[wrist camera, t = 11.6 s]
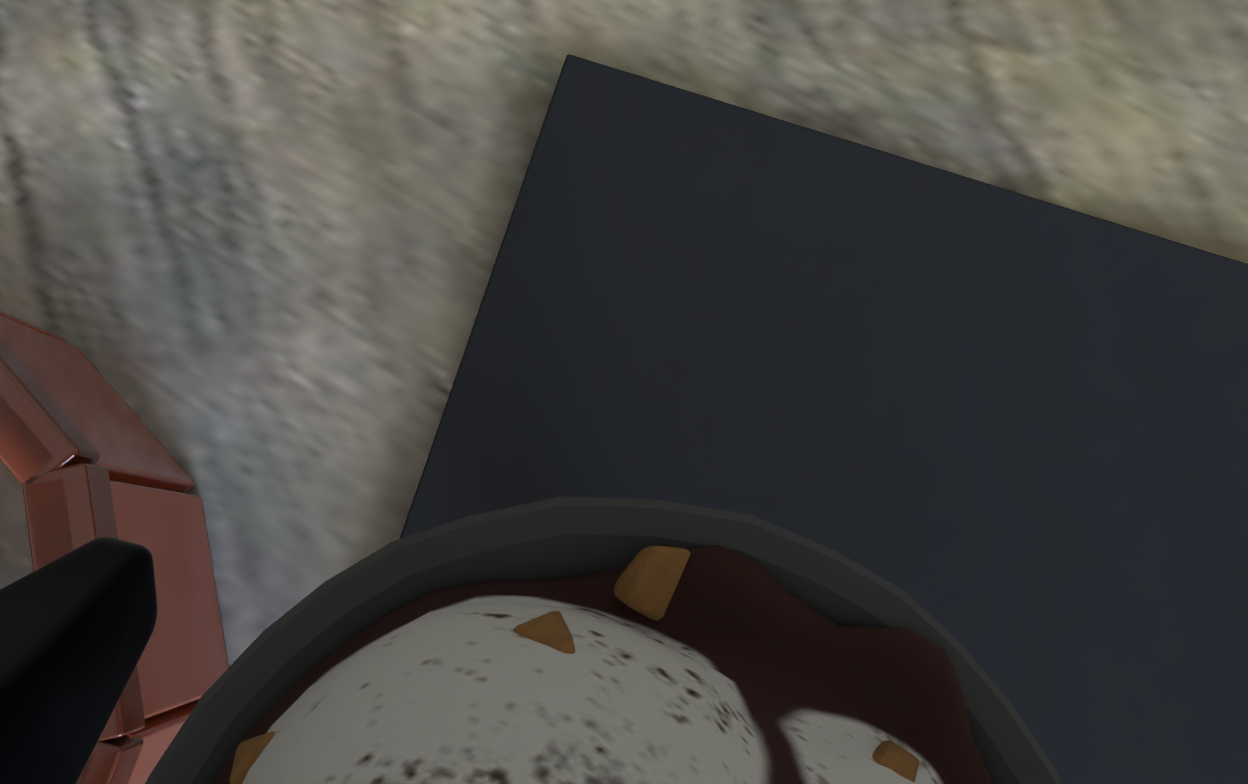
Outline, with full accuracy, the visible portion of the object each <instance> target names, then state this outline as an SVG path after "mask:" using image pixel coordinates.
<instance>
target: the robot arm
mask: <svg viewBox="0 0 1248 784" xmlns="http://www.w3.org/2000/svg"><path fill="white" fill-rule="evenodd" d="M157 613H158V605H157V595H156V585H155V575H154V565H153V558H152V554H151V552H150V551H149V550H148V548H147V547H145V546H142V545H139V544H135V543H131V542H127V541H123V540H119V539H115V538H110V537H101V538H98V539H94V540H92V541H90V542H88V543H86V544H84V545H83V546H81V547H79V548H77V549H75V550H73V551H71V552H70V553H68V554H66V555H64V556H62V557H60V558H58V559H57V560H55V561H53V562H51V563H49V564H47V565H45V566H44V567H42V568H40V569H38V570H36V571H34V572H32V573H31V574H29V575H27V576H25V577H23V578H21V579H19V580H18V581H16V582H14V583H12V584H10V585H8V586H6V587H5V588H3V589H1V590H0V784H76V783H77V781H78V779H79V777H80V775H81V773H82V771H83V770H84V768H85V766H86V764H87V762H88V760H89V758H90V756H91V754H92V752H93V750H94V748H95V746H96V744H97V742H98V740H99V738H100V736H101V734H102V732H103V730H104V728H105V726H106V724H107V722H108V720H109V718H110V716H111V714H112V712H113V710H114V708H115V706H116V704H117V702H118V700H119V699H120V697H121V695H122V693H123V691H124V689H125V687H126V685H127V683H128V681H129V679H130V677H131V675H132V673H133V671H134V669H135V667H136V665H137V663H138V661H139V659H140V657H141V655H142V653H143V651H144V649H145V647H146V645H147V643H148V641H149V639H150V637H151V635H152V633H153V630H154V627H155V624H156V620H157Z"/></svg>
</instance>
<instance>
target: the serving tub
mask: <svg viewBox="0 0 1248 784" xmlns="http://www.w3.org/2000/svg"><path fill="white" fill-rule="evenodd" d="M0 460H1V461H2V462H3V463H4V465H5V466H6V467H7V468H8V469H9V471H10V472H11V473H12V474H13V475H14V476H15V478H16V479H17V480H18V481H19V482H20V484H21V485H22V488H23V495H24V503H25V510H26V518H27V525H28V533H29V540H30V548H31V555H32V563H33V570H34V571H36V570H38V569H40V568H42V567H44V566H45V565H47V564H49V563H51V562H53V561H55V560H57V559H58V558H60V557H62V556H64V555H66V554H68V553H70V552H71V551H73V550H75V549H77V548H79V547H81V546H83V545H84V544H86V543H88V542H90V541H92V540H94V539H98V538H101V537H110V538H115V539H119V540H123V541H127V542H131V543H135V544H139V545H142V546H145V547H147V548H148V550H149V551H150V552H151V554H152V558H153V565H154V575H155V585H156V595H157V605H158V613H157V620H156V624H155V627H154V630H153V633H152V635H151V637H150V639H149V641H148V643H147V645H146V647H145V649H144V651H143V653H142V655H141V657H140V659H139V661H138V663H137V665H136V667H135V669H134V671H133V673H132V675H131V677H130V679H129V681H128V683H127V685H126V687H125V689H124V691H123V693H122V695H121V697H120V699H119V700H118V702H117V704H116V706H115V708H114V710H113V712H112V714H111V716H110V718H109V720H108V722H107V724H106V726H105V728H104V730H103V732H102V734H101V736H100V738H99V740H98V742H97V744H96V746H95V748H94V750H93V752H92V754H91V756H90V758H89V760H88V762H87V764H86V766H85V768H84V770H83V771H82V773H81V775H80V777H79V779H78V781H77V783H76V784H145V783H146V781H147V779H148V777H149V775H150V774H151V772H152V771H153V769H154V768H155V766H156V764H157V763H158V761H159V760H160V758H161V757H162V755H163V754H164V752H165V751H166V749H167V748H168V746H169V745H170V743H171V742H172V740H173V739H174V737H175V736H176V734H177V733H178V731H179V730H180V728H181V727H182V725H183V724H184V722H185V721H186V719H187V718H188V716H189V714H190V713H191V711H192V710H193V708H194V707H195V705H196V704H197V702H198V701H199V699H200V698H201V696H202V695H203V694H204V693H205V692H206V691H207V690H208V689H209V688H210V687H211V686H212V685H213V684H214V683H215V682H216V681H217V680H218V678H219V677H220V676H221V675H222V674H223V673H224V672H225V671H226V670H227V669H228V668H229V666H228V660H227V654H226V648H225V641H224V635H223V629H222V623H221V617H220V610H219V604H218V598H217V592H216V586H215V579H214V573H213V567H212V561H211V554H210V548H209V542H208V536H207V530H206V523H205V517H204V511H203V505H202V498H201V497H200V496H199V495H193V494H187V492H188V491H189V490H190V489H191V488H193V486H194V485H195V484H194V481H193V480H192V479H191V478H190V477H189V475H188V474H187V473H186V472H185V471H184V470H183V468H182V467H181V466H180V465H179V464H178V463H177V462H176V460H175V459H174V458H173V457H172V456H171V455H170V453H169V452H168V451H167V450H166V449H165V448H164V447H163V445H162V444H161V443H160V442H159V441H158V440H157V438H156V437H155V436H154V435H153V434H152V433H151V432H150V430H149V429H148V428H147V427H146V426H145V425H144V424H143V422H142V421H141V420H140V419H139V418H138V417H137V415H136V414H135V413H134V412H133V411H132V410H131V409H130V407H129V406H128V405H127V404H126V403H125V402H124V400H123V399H122V398H121V397H120V396H119V395H118V394H117V392H116V391H115V390H114V389H113V388H112V387H111V385H110V384H109V383H108V382H107V381H106V380H105V379H104V377H103V376H102V375H101V374H100V373H99V372H98V370H97V369H96V368H95V367H94V366H93V365H92V364H91V362H90V361H89V360H88V359H87V358H86V357H85V356H84V354H83V353H82V352H81V351H80V350H79V349H78V348H76V347H74V346H72V345H69V344H67V343H66V340H65V339H63V338H61V337H59V336H56V335H54V334H52V333H49V332H47V331H45V330H42V329H40V328H38V327H35V326H33V325H31V324H28V323H26V322H24V321H21V320H19V319H17V318H14V317H12V316H10V315H7V314H5V313H3V312H0Z"/></svg>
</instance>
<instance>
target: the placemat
mask: <svg viewBox="0 0 1248 784" xmlns="http://www.w3.org/2000/svg"><path fill="white" fill-rule="evenodd" d="M561 496H563V497H595V498H627V499H657V500H664V501H670V502H676V503H683V504H689V505H695V506H701V507H708V508H714V509H720V510H727V511H733V512H739V513H745V514H751V515H753V516H756V517H758V518H760V519H763V520H765V521H767V522H770V523H772V524H774V525H777V526H779V527H782V528H784V529H786V530H789V531H791V532H793V533H796V534H798V535H800V536H803V537H805V538H807V539H810V540H812V541H814V542H817V543H819V544H821V545H824V546H826V547H828V548H831V549H833V550H835V551H837V552H839V553H841V554H842V555H844V556H846V557H848V558H849V559H851V560H853V561H854V562H856V563H858V564H860V565H861V566H863V567H865V568H867V569H868V570H870V571H872V572H873V573H875V574H877V575H879V576H880V577H882V578H884V579H885V580H887V581H889V582H891V583H892V584H894V585H896V586H898V587H899V588H901V589H902V590H903V591H904V592H905V593H907V594H908V595H909V596H910V597H911V598H912V599H913V600H914V601H915V602H917V603H918V604H919V605H920V606H921V607H922V608H923V609H924V610H925V611H926V612H928V613H929V614H930V615H931V616H932V617H933V618H934V619H935V620H936V621H938V622H939V623H940V624H941V625H942V626H943V627H944V628H945V629H946V630H947V631H949V632H950V633H951V634H952V635H953V636H954V637H955V638H956V639H957V640H958V641H959V642H960V643H961V644H962V645H963V646H964V648H965V649H966V650H967V651H968V652H969V653H970V655H971V656H972V657H973V658H974V659H975V660H976V662H977V663H978V664H979V665H980V666H981V668H982V669H983V670H984V671H985V672H986V673H987V675H988V676H989V677H990V678H991V679H992V680H993V682H994V683H995V684H996V685H997V686H998V687H999V689H1000V690H1001V691H1002V692H1003V693H1004V694H1005V696H1006V697H1007V698H1008V700H1009V701H1010V702H1011V704H1012V705H1013V707H1014V708H1015V710H1016V711H1017V713H1018V714H1019V716H1020V717H1021V719H1022V720H1023V722H1024V723H1025V725H1026V726H1027V728H1028V729H1029V731H1030V732H1031V734H1032V735H1033V737H1034V738H1035V740H1036V741H1037V742H1038V744H1039V745H1040V747H1041V748H1042V750H1043V751H1044V753H1045V754H1046V756H1047V757H1048V759H1049V760H1050V762H1051V763H1052V765H1053V766H1054V768H1055V769H1056V771H1057V772H1058V775H1059V777H1060V779H1061V781H1062V784H1248V264H1245V263H1242V262H1239V261H1236V260H1233V259H1229V258H1226V257H1223V256H1220V255H1216V254H1213V253H1210V252H1207V251H1203V250H1200V249H1197V248H1194V247H1191V246H1187V245H1184V244H1181V243H1178V242H1174V241H1171V240H1168V239H1165V238H1161V237H1158V236H1155V235H1152V234H1148V233H1145V232H1142V231H1139V230H1136V229H1132V228H1129V227H1126V226H1123V225H1119V224H1116V223H1113V222H1110V221H1106V220H1103V219H1100V218H1097V217H1093V216H1090V215H1087V214H1084V213H1081V212H1077V211H1074V210H1071V209H1068V208H1064V207H1061V206H1058V205H1055V204H1051V203H1048V202H1045V201H1042V200H1039V199H1035V198H1032V197H1029V196H1026V195H1022V194H1019V193H1016V192H1013V191H1009V190H1006V189H1003V188H1000V187H996V186H993V185H990V184H987V183H984V182H980V181H977V180H974V179H971V178H967V177H964V176H961V175H958V174H954V173H951V172H948V171H945V170H941V169H938V168H935V167H932V166H929V165H925V164H922V163H919V162H916V161H912V160H909V159H906V158H903V157H899V156H896V155H893V154H890V153H887V152H883V151H880V150H877V149H874V148H870V147H867V146H864V145H861V144H857V143H854V142H851V141H848V140H844V139H841V138H838V137H835V136H832V135H828V134H825V133H822V132H819V131H815V130H812V129H809V128H806V127H802V126H799V125H796V124H793V123H790V122H786V121H783V120H780V119H777V118H773V117H770V116H767V115H764V114H760V113H757V112H754V111H751V110H747V109H744V108H741V107H738V106H735V105H731V104H728V103H725V102H722V101H718V100H715V99H712V98H709V97H705V96H702V95H699V94H696V93H692V92H689V91H686V90H683V89H680V88H676V87H673V86H670V85H667V84H663V83H660V82H657V81H654V80H650V79H647V78H644V77H641V76H638V75H634V74H631V73H628V72H625V71H621V70H618V69H615V68H612V67H608V66H605V65H602V64H599V63H595V62H592V61H589V60H586V59H583V58H579V57H576V56H573V55H570V54H569V55H567V56H566V59H565V62H564V65H563V68H562V70H561V73H560V76H559V79H558V82H557V85H556V88H555V91H554V94H553V97H552V99H551V102H550V105H549V108H548V111H547V114H546V117H545V120H544V123H543V126H542V128H541V131H540V134H539V137H538V140H537V143H536V146H535V149H534V152H533V154H532V157H531V160H530V163H529V166H528V169H527V172H526V175H525V178H524V181H523V183H522V186H521V189H520V192H519V195H518V198H517V201H516V204H515V207H514V209H513V212H512V215H511V218H510V221H509V224H508V227H507V230H506V233H505V236H504V238H503V241H502V244H501V247H500V250H499V253H498V256H497V259H496V262H495V264H494V267H493V270H492V273H491V276H490V279H489V282H488V285H487V288H486V291H485V293H484V296H483V299H482V302H481V305H480V308H479V311H478V314H477V317H476V319H475V322H474V325H473V328H472V331H471V334H470V337H469V340H468V343H467V346H466V348H465V351H464V354H463V357H462V360H461V363H460V366H459V369H458V372H457V375H456V377H455V380H454V383H453V386H452V389H451V392H450V395H449V398H448V401H447V403H446V406H445V409H444V412H443V415H442V418H441V421H440V424H439V427H438V430H437V432H436V435H435V438H434V441H433V444H432V447H431V450H430V453H429V456H428V458H427V461H426V464H425V467H424V470H423V473H422V476H421V479H420V482H419V485H418V487H417V490H416V493H415V496H414V499H413V502H412V505H411V508H410V511H409V513H408V516H407V519H406V522H405V525H404V528H403V531H402V534H401V537H400V539H402V538H405V537H408V536H411V535H414V534H417V533H420V532H423V531H426V530H429V529H431V528H434V527H437V526H440V525H443V524H446V523H449V522H452V521H455V520H458V519H461V518H464V517H467V516H471V515H476V514H481V513H485V512H490V511H495V510H499V509H504V508H509V507H514V506H518V505H523V504H528V503H532V502H537V501H542V500H547V499H551V498H556V497H561Z"/></svg>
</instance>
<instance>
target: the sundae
mask: <svg viewBox="0 0 1248 784" xmlns="http://www.w3.org/2000/svg"><path fill="white" fill-rule="evenodd" d="M145 784H1062V781H1061V779H1060V777H1059V775H1058V772H1057V771H1056V769H1055V768H1054V766H1053V765H1052V763H1051V762H1050V760H1049V759H1048V757H1047V756H1046V754H1045V753H1044V751H1043V750H1042V748H1041V747H1040V745H1039V744H1038V742H1037V741H1036V740H1035V738H1034V737H1033V735H1032V734H1031V732H1030V731H1029V729H1028V728H1027V726H1026V725H1025V723H1024V722H1023V720H1022V719H1021V717H1020V716H1019V714H1018V713H1017V711H1016V710H1015V708H1014V707H1013V705H1012V704H1011V702H1010V701H1009V700H1008V698H1007V697H1006V696H1005V694H1004V693H1003V692H1002V691H1001V690H1000V689H999V687H998V686H997V685H996V684H995V683H994V682H993V680H992V679H991V678H990V677H989V676H988V675H987V673H986V672H985V671H984V670H983V669H982V668H981V666H980V665H979V664H978V663H977V662H976V660H975V659H974V658H973V657H972V656H971V655H970V653H969V652H968V651H967V650H966V649H965V648H964V646H963V645H962V644H961V643H960V642H959V641H958V640H957V639H956V638H955V637H954V636H953V635H952V634H951V633H950V632H949V631H947V630H946V629H945V628H944V627H943V626H942V625H941V624H940V623H939V622H938V621H936V620H935V619H934V618H933V617H932V616H931V615H930V614H929V613H928V612H926V611H925V610H924V609H923V608H922V607H921V606H920V605H919V604H918V603H917V602H915V601H914V600H913V599H912V598H911V597H910V596H909V595H908V594H907V593H905V592H904V591H903V590H902V589H901V588H899V587H898V586H896V585H894V584H892V583H891V582H889V581H887V580H885V579H884V578H882V577H880V576H879V575H877V574H875V573H873V572H872V571H870V570H868V569H867V568H865V567H863V566H861V565H860V564H858V563H856V562H854V561H853V560H851V559H849V558H848V557H846V556H844V555H842V554H841V553H839V552H837V551H835V550H833V549H831V548H828V547H826V546H824V545H821V544H819V543H817V542H814V541H812V540H810V539H807V538H805V537H803V536H800V535H798V534H796V533H793V532H791V531H789V530H786V529H784V528H782V527H779V526H777V525H774V524H772V523H770V522H767V521H765V520H763V519H760V518H758V517H756V516H753V515H751V514H745V513H739V512H733V511H727V510H720V509H714V508H708V507H701V506H695V505H689V504H683V503H676V502H670V501H664V500H657V499H627V498H595V497H563V496H561V497H556V498H551V499H547V500H542V501H537V502H532V503H528V504H523V505H518V506H514V507H509V508H504V509H499V510H495V511H490V512H485V513H481V514H476V515H471V516H467V517H464V518H461V519H458V520H455V521H452V522H449V523H446V524H443V525H440V526H437V527H434V528H431V529H429V530H426V531H423V532H420V533H417V534H414V535H411V536H408V537H405V538H402V539H399V540H396V541H393V542H391V543H390V544H388V545H386V546H385V547H383V548H381V549H380V550H378V551H376V552H374V553H373V554H371V555H369V556H368V557H366V558H364V559H363V560H361V561H359V562H358V563H356V564H354V565H353V566H351V567H349V568H347V569H346V570H344V571H342V572H341V573H339V574H337V575H336V576H334V577H332V578H331V579H329V580H327V581H326V582H324V583H323V584H322V585H320V586H319V587H318V588H317V589H315V590H314V591H313V592H312V593H310V594H309V595H308V596H307V597H305V598H304V599H303V600H302V601H300V602H299V603H298V604H297V605H295V606H294V607H293V608H292V609H291V610H289V611H288V612H287V613H286V614H284V615H283V616H282V617H281V618H279V619H278V620H277V621H276V622H274V623H273V624H272V625H271V626H269V627H268V628H267V629H266V630H264V631H263V632H262V633H261V635H260V636H259V637H258V638H257V639H256V640H255V641H254V642H253V643H252V644H251V645H250V646H249V647H248V648H247V649H246V650H245V651H244V652H243V653H242V654H241V655H240V656H239V658H238V659H237V660H236V661H235V662H234V663H233V664H232V665H231V666H230V667H229V668H228V669H227V670H226V671H225V672H224V673H223V674H222V675H221V676H220V677H219V678H218V680H217V681H216V682H215V683H214V684H213V685H212V686H211V687H210V688H209V689H208V690H207V691H206V692H205V693H204V694H203V695H202V696H201V698H200V699H199V701H198V702H197V704H196V705H195V707H194V708H193V710H192V711H191V713H190V714H189V716H188V718H187V719H186V721H185V722H184V724H183V725H182V727H181V728H180V730H179V731H178V733H177V734H176V736H175V737H174V739H173V740H172V742H171V743H170V745H169V746H168V748H167V749H166V751H165V752H164V754H163V755H162V757H161V758H160V760H159V761H158V763H157V764H156V766H155V768H154V769H153V771H152V772H151V774H150V775H149V777H148V779H147V781H146V783H145Z"/></svg>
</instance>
